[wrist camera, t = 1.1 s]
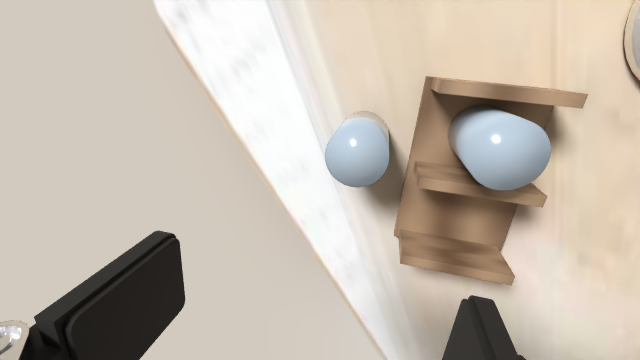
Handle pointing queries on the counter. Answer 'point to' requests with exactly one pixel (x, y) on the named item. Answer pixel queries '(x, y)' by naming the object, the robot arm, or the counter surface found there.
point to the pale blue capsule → (499, 147)
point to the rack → (464, 182)
